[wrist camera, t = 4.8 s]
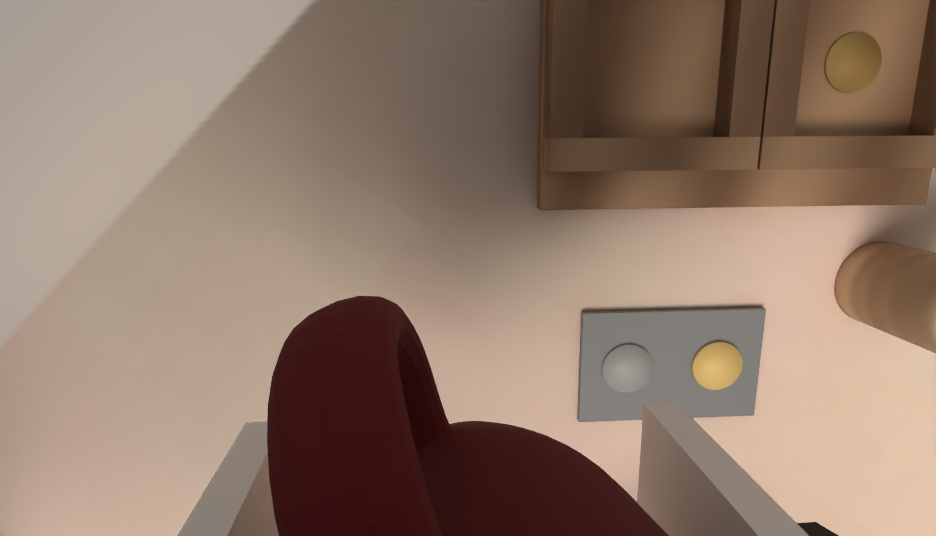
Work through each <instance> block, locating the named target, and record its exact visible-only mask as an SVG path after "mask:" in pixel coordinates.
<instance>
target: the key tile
mask: <svg viewBox="0 0 936 536" xmlns="http://www.w3.org/2000/svg"><path fill="white" fill-rule="evenodd" d="M765 313H766V309H765V308H763V307H748V308H710V309H671V310H633V311H594V312H582V313H581V339H580V365H579V391H578V416H577V419H578V421H579V422H591V421H617V420H643V408H644V403H662V402H677V403H678V404H679V405H680V406H681V407H682V408H683V409H684V410H685V411H686V412H687V413H688V414H689V415H690V416H691V417H692V418H696V417H723V416H749V415H754V409H755V401H756V392H757V383H758V374H759V365H760V357H761V348H762V339H763V330H764V322H765Z"/></svg>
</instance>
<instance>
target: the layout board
mask: <svg viewBox="0 0 936 536" xmlns="http://www.w3.org/2000/svg"><path fill="white" fill-rule="evenodd" d="M932 168H936V0H541V51H540V101H539V152H538V203H537V208H539V209H540V210H573V209H639V208H706V207H772V206H839V205H905V204H926V199H927V194H928V188H929V182H930V176H931V170H932Z"/></svg>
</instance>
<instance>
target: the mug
mask: <svg viewBox="0 0 936 536" xmlns="http://www.w3.org/2000/svg"><path fill="white" fill-rule="evenodd" d="M267 449H268V466H269V481H270V488H271V495H272V502H273V509H274V516H275V521H276V525H277V529H278V534H279V536H669V535H668V534H667V533H666V532H665V531H664V530H663V529H662V528H661V527H660V526H659V525H658V524H657V523H656V522H655V521H654V520H653V519H652V518H651V517H650V516H649V515H648V514H647V512H646V511H645V510H644V509H643V508H642V507H641V506H640V505H639V504H638V503H637V502H636V501H635V500H634V499H633V498H632V497H631V496H630V495H629V494H628V493H627V492H626V491H625V490H624V489H623V488H622V487H621V486H620V485H619V484H618V483H617V482H616V481H615V480H613V479H612V478H611V477H610V476H609V475H608V474H607V473H606V472H605V471H604V470H603V469H601V468H600V467H599V466H598V465H596V464H595V463H593V462H592V461H591V460H589V459H588V458H587V457H585V456H584V455H582V454H581V453H579V452H578V451H576V450H574V449H572V448H571V447H569V446H567V445H565V444H563V443H561V442H559V441H557V440H555V439H552V438H550V437H548V436H546V435H543V434H540V433H537V432H534V431H531V430H528V429H524V428H521V427H516V426H512V425H507V424H500V423H493V422H483V421H466V422H458V423H453V424H449V423H448V420H447V418H446V415H445V413H444V409H443V406H442V403H441V400H440V397H439V394H438V391H437V387H436V384H435V381H434V377H433V374H432V371H431V368H430V365H429V362H428V359H427V356H426V353H425V350H424V348H423V345H422V343H421V341H420V338H419V336H418V334H417V332H416V330H415V328H414V326H413V325H412V323H411V322H410V320H409V319H408V317H407V316H406V314H405V313H404V311H403V310H402V309H401V308H400V307H399V306H398V305H397V304H395V303H393V302H391V301H389V300H387V299H385V298H382V297H375V296H357V297H353V298H348V299H344V300H340V301H337V302H335V303H332V304H330V305H328V306H326V307H324V308H322V309H320V310H318V311H316V312H314V313H312V314H311V315H309V316H308V317H307V318H305V319H304V320H303V321H302V322H301V323H300V324H298V325H297V326H296V327H295V328H294V329H293V330H292V332H291V333H290V335H289V336H288V338H287V339H286V341H285V343H284V345H283V348H282V350H281V352H280V355H279V358H278V361H277V364H276V367H275V370H274V373H273V376H272V381H271V388H270V395H269V402H268V423H267Z"/></svg>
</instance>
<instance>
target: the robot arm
mask: <svg viewBox="0 0 936 536" xmlns="http://www.w3.org/2000/svg"><path fill="white" fill-rule="evenodd" d="M267 423H268V422H252V423H246V424H245V425H244V427H243V429H242V430H241V432H240V434H239V435H238V437H237V439H236V440H235V442H234V444H233V445H232V447H231V449H230V450H229V452H228V453H227V455H226V457H225V458H224V460H223V462H222V463H221V465H220V467H219V468H218V470H217V472H216V473H215V475H214V476H213V478H212V480H211V481H210V483H209V485H208V486H207V488H206V490H205V491H204V493H203V495H202V496H201V498H200V500H199V501H198V503H197V504H196V506H195V508H194V509H193V511H192V513H191V514H190V516H189V518H188V519H187V521H186V523H185V524H184V526H183V528H182V529H181V531H180V532H179V534H178V536H279V534H278V529H277V525H276V521H275V516H274V509H273V502H272V495H271V488H270V481H269V466H268V449H267ZM637 503H638V504H639V505H640V506H641V507H642V508H643V509H644V510H645V511H646V512H647V514H648V515H649V516H650V517H651V518H652V519H653V520H654V521H655V522H656V523H657V524H658V525H659V526H660V527H661V528H662V529H663V530H664V531H665V532H666V533H667V534H668V535H669V536H838V535H836V534H835V533H833V532H831V531H830V530H828V529H826V528H825V527H823V526H821V525H820V524H818V523H816V522H809V523H796V522H795V521H794V520H793V519H792V518H791V517H790V516H789V515H788V514H787V513H786V512H785V511H784V510H783V509H782V508H781V507H780V506H779V505H778V504H777V503H776V502H775V501H774V500H773V499H772V498H771V497H770V496H769V495H768V494H767V493H766V492H765V491H764V490H763V489H762V488H761V487H760V486H759V485H758V484H757V483H756V482H755V481H754V480H753V479H752V478H751V477H750V476H749V475H748V474H747V473H746V472H745V471H744V470H743V469H742V468H741V467H740V466H739V465H738V464H737V463H736V462H735V461H734V460H733V459H732V458H731V457H730V456H729V455H728V454H727V453H726V452H725V451H724V450H723V449H722V448H721V447H720V446H719V445H718V444H717V443H716V442H715V441H714V440H713V439H712V438H711V437H710V436H709V434H708V433H707V432H706V431H705V430H704V429H703V428H702V427H701V426H700V425H699V424H698V423H697V422H696V421H695V420H694V419H693V418H692V417H691V416H690V415H689V414H688V413H687V412H686V411H685V410H684V409H683V408H682V407H681V406H680V405H679V404H678V403H677V402H662V403H644V408H643V423H642V438H641V453H640V468H639V483H638V498H637Z"/></svg>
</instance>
